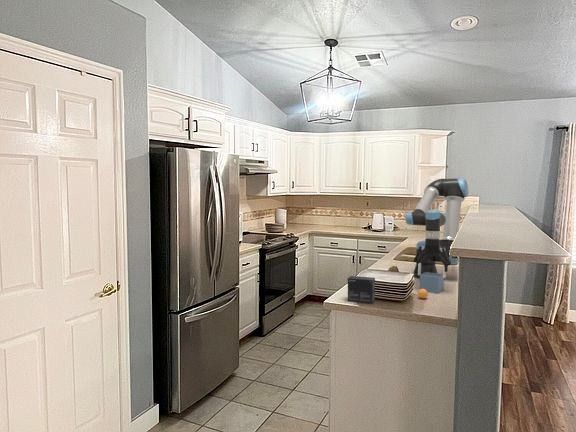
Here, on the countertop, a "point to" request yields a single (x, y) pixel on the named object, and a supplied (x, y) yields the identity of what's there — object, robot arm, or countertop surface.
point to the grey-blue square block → (432, 282)
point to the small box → (361, 289)
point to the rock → (393, 269)
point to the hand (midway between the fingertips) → (431, 276)
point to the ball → (422, 293)
